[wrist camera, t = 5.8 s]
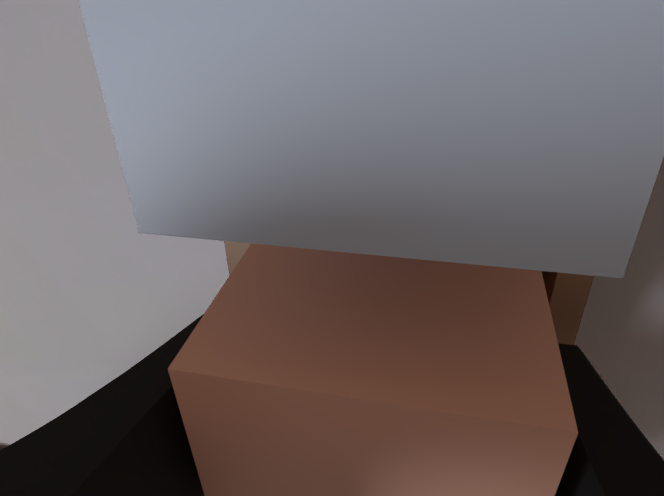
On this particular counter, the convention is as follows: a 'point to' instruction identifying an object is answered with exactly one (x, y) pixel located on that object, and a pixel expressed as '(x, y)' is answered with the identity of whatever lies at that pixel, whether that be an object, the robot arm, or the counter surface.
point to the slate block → (390, 124)
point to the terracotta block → (375, 379)
